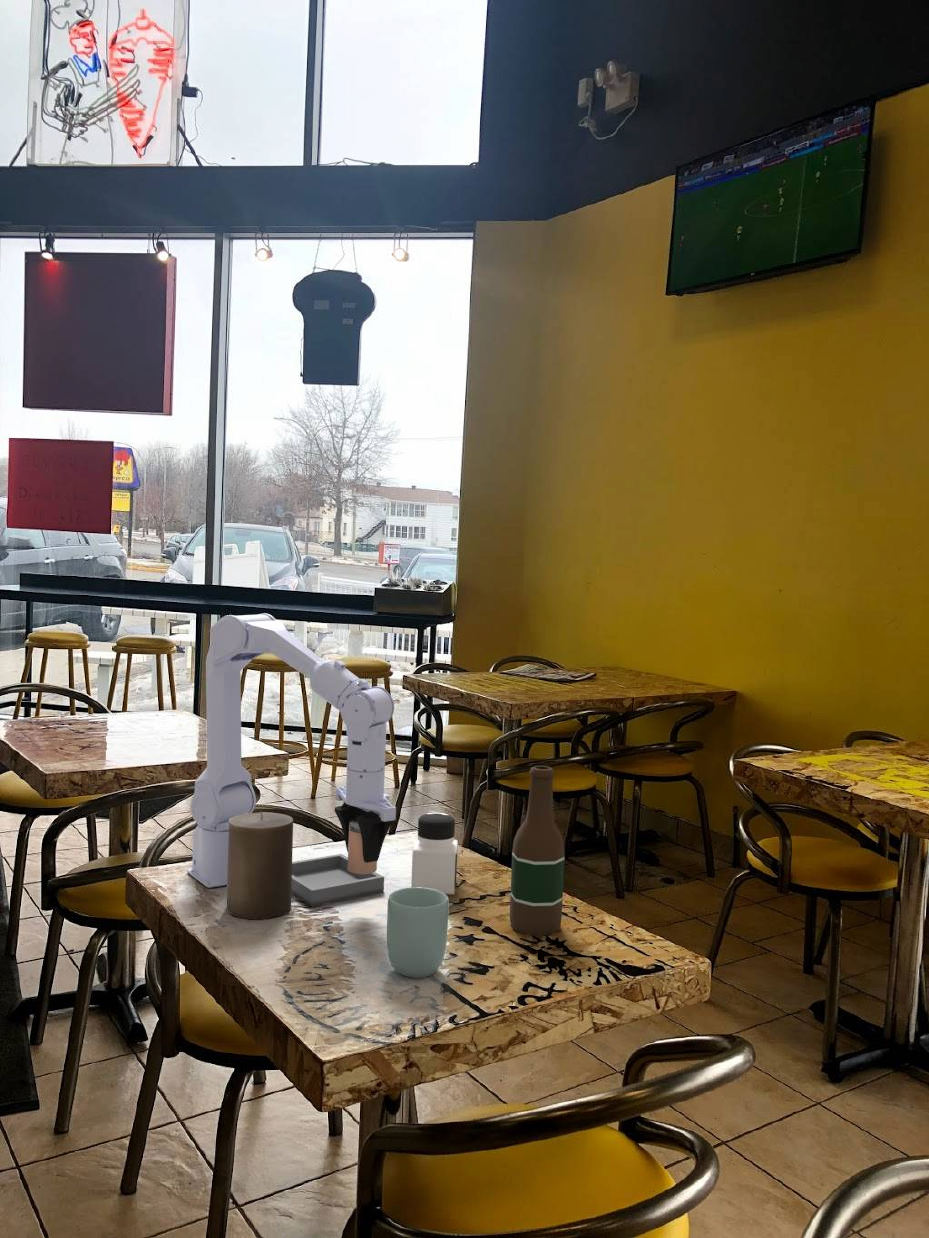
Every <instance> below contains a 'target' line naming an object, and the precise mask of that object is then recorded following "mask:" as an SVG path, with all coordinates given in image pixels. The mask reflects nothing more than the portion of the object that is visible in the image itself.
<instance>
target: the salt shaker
mask: <svg viewBox="0 0 929 1238" xmlns="http://www.w3.org/2000/svg"><path fill="white" fill-rule="evenodd" d="M347 857H348V871H349V872H351V873H355V874H370V873H374V872H377V869H378V861H374V862H368V863H366V862H364V858H363V848H362V836H361V831H360V828H359V825H358V822H357V820H356V818H352V819H350V820H349V844H348V852H347Z"/></svg>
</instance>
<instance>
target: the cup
mask: <svg viewBox="0 0 929 1238" xmlns="http://www.w3.org/2000/svg"><path fill="white" fill-rule="evenodd" d="M449 900H450V899H449V897H448V894H444V893H443V892H440V891H438V890H434V889H430V888H423V887H411V886H410V887H405V888H400V889H398V890H395V891H393V892H391V893H390V894H389V895H388V899H387V909H386V910H387V912H386V914H387V915H386V916H387V917H386V947H387V949H386V950H387V954H388V960H389V963H390V965H391V967H392V968H393V969H394V970H395V972H397V973H398V974H400V975H402V976H404V977H408V978H413V979H419V978H421V979H422V978H425V977H428V976H431V975H433V974H434V973H436V972H437V971H438V970H439V969H440V967H441V965H442V964H443V961H444V958H445V955H446V950H447V941H448V934H449V933H448V932H449V931H448V930H449V913H450V912H449V911H450V909H449V908H450V905H449V904H450V903H449V902H450V901H449Z"/></svg>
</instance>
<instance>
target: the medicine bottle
mask: <svg viewBox="0 0 929 1238" xmlns="http://www.w3.org/2000/svg"><path fill="white" fill-rule="evenodd" d="M417 823H418V824H417V838H415V840H414V844H413V849H412V856H411V857H412V858H411V859H412V860H411V881H410V882H411V883H410V884H411V886H410V888H411V887H423V888H430V889H434V890H438V891H440V892H443V893H444V894H446V895H447V896H448V895H451V896H452V895H455V894H456V890H457V889H456V888H457V886H456V885H457V875H458V874H457V871H458V868H457V867H458V866H457V865H458V851H459V850H458V845H459V841H458V840H457V839H455V833H456V832H455V829H456V819H455V818H454V817H453V816H452V815H449V814H447V813H444V812H428V813H425V814H423V815H421V816H419V818H418V820H417Z"/></svg>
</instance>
